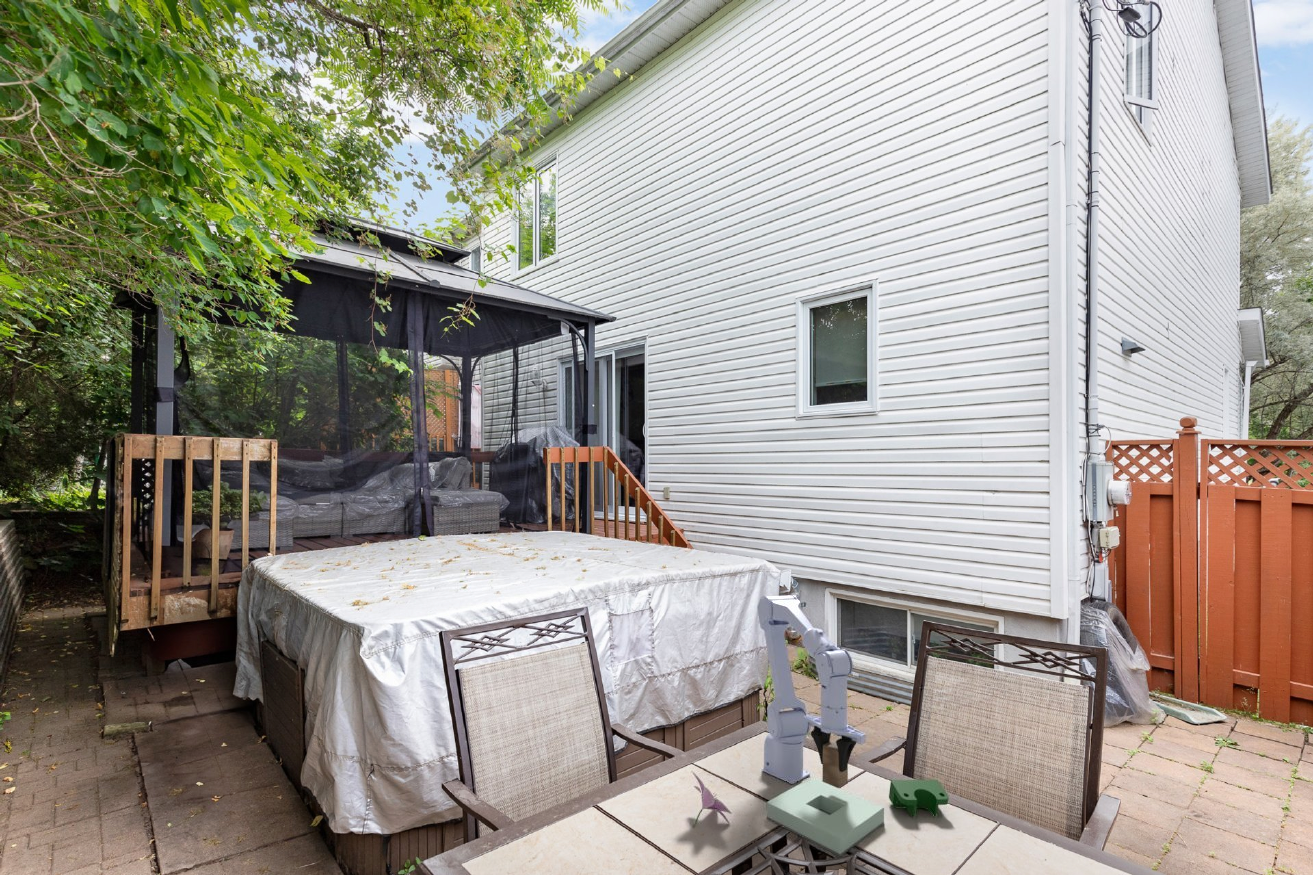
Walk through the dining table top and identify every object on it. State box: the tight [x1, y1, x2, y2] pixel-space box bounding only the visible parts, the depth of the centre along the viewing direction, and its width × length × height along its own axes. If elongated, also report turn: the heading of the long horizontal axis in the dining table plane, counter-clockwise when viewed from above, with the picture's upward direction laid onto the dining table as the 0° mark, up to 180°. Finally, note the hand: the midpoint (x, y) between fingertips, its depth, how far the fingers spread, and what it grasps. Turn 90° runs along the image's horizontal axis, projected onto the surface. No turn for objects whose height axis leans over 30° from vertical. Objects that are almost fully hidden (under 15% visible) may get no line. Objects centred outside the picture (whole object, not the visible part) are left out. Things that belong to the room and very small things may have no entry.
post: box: [821, 740, 849, 789], centre depth 140 cm, size 4×4×8 cm
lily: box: [690, 770, 733, 828], centre depth 134 cm, size 12×12×10 cm
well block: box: [765, 776, 885, 857], centre depth 135 cm, size 18×18×4 cm
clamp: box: [888, 779, 950, 818], centre depth 140 cm, size 12×6×9 cm, turn 90°
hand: (833, 766), depth 140 cm, fingers closed on post, 4 cm apart
